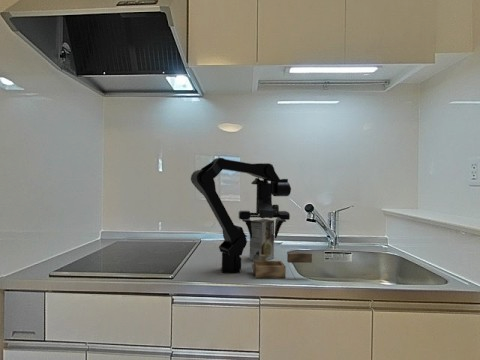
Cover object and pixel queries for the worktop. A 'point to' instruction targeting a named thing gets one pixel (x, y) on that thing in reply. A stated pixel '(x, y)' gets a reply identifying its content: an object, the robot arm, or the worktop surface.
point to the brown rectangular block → (299, 257)
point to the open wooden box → (269, 269)
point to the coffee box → (262, 239)
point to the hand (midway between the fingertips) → (263, 238)
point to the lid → (261, 258)
